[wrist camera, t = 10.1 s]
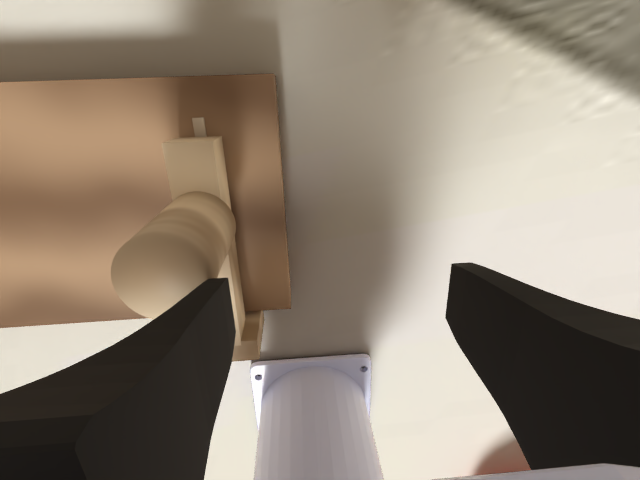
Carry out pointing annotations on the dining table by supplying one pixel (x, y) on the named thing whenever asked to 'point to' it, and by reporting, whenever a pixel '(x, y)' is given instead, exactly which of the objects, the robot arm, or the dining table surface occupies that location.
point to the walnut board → (127, 186)
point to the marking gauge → (188, 242)
